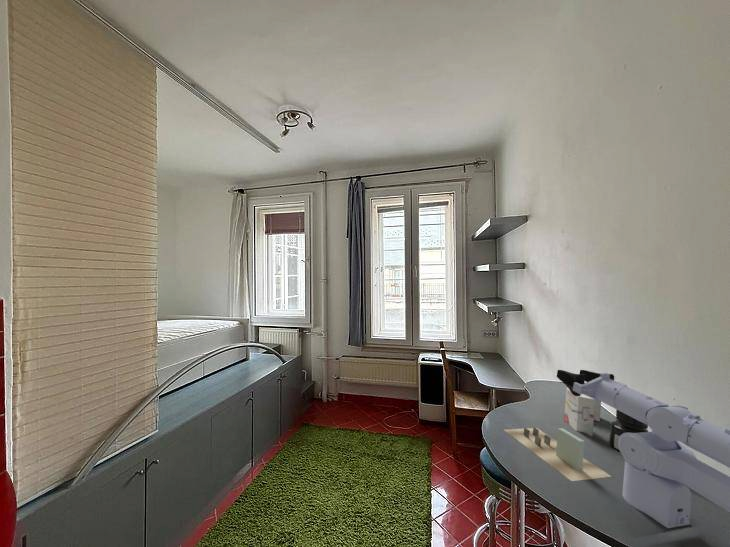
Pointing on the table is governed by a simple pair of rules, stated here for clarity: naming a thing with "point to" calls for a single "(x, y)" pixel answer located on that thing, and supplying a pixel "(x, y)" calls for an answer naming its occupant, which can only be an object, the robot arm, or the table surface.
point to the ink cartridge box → (579, 412)
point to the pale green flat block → (570, 449)
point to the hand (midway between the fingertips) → (569, 373)
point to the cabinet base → (550, 456)
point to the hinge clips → (537, 439)
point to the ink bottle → (624, 428)
